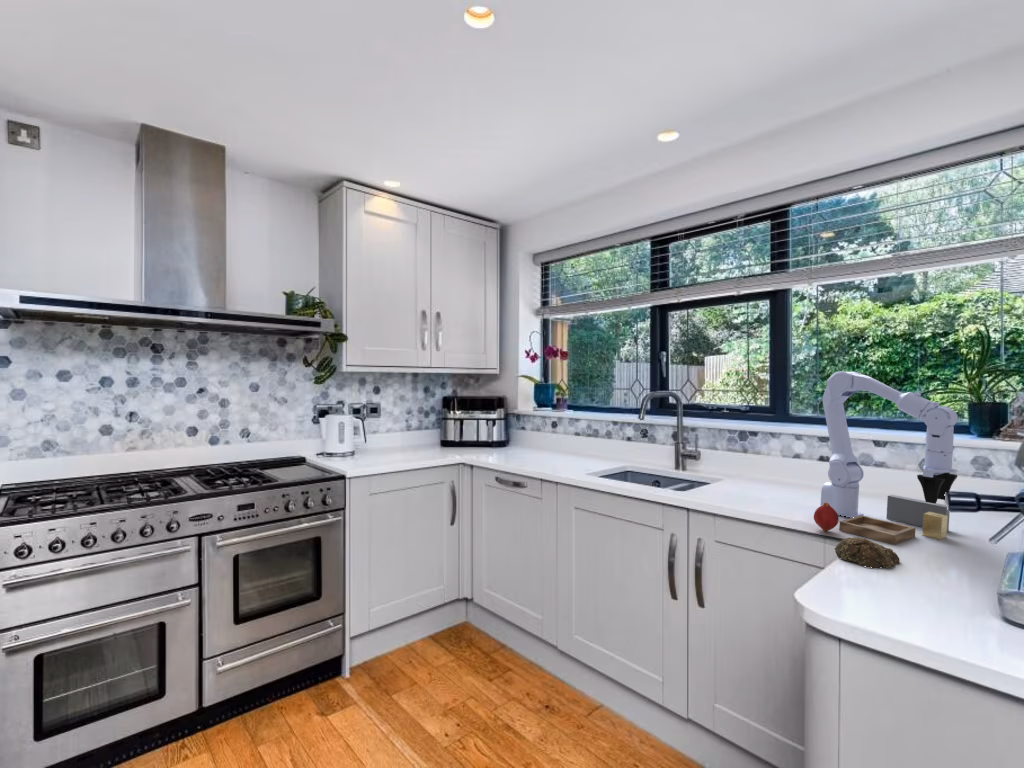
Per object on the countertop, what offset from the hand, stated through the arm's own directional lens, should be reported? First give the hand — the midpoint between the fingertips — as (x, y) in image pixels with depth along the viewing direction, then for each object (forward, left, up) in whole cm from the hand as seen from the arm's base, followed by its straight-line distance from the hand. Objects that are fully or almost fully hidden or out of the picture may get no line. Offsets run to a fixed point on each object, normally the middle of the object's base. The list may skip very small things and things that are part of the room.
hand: (936, 500), depth 139 cm
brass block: (0, -1, -10) cm, 10 cm away
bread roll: (-1, -38, -10) cm, 39 cm away
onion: (-17, -24, -10) cm, 31 cm away
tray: (-9, -13, -10) cm, 18 cm away
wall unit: (-7, +8, -10) cm, 14 cm away
